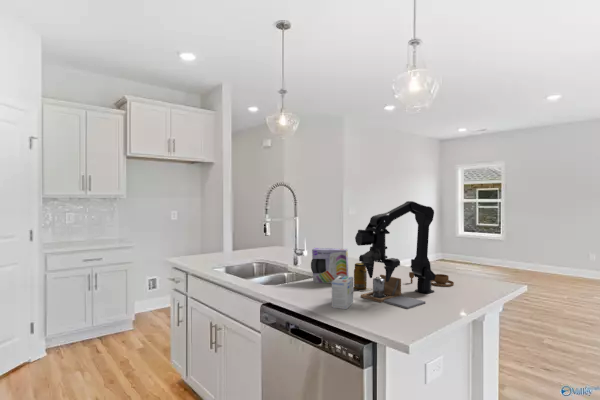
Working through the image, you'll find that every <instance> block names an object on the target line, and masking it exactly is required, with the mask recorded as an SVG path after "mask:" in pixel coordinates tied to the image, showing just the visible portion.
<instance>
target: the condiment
mask: <svg viewBox="0 0 600 400" xmlns="http://www.w3.org/2000/svg"><path fill="white" fill-rule="evenodd" d="M367 273H368V271H367V268H366V266H365V265H364V264H362V263H361V262H356V263H354V270H353V290H356V291H358V292H367V291H373V288H370V287H367V284H368V283H367V277H368V276H367Z"/></svg>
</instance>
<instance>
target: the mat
mask: <svg viewBox="0 0 600 400" xmlns="http://www.w3.org/2000/svg"><path fill="white" fill-rule="evenodd" d="M383 303H386V304H389V305H393V306H395V307H400V308H403V309H407V310H409V309H412V308H413V309H414V308H417V307H419V306H422V305H425V304H426V301H425V300H421V299H417V298H413V297H410V296H405V295H402V294H401V296H397V297H393V298H390V299H386V300H384V302H383Z"/></svg>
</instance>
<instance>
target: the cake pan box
mask: <svg viewBox="0 0 600 400" xmlns="http://www.w3.org/2000/svg"><path fill="white" fill-rule="evenodd" d="M348 250H349V249H348V248H333V247H314V248H312V249H311V253H312V255H311V257H312V259H311V261H310V269H311V273H312V283H321V284H322V283H323V284H332V281H333V280H335V279H336V278H337V277H338V276H346V277H350V275H349V273H350V272H349V253H348Z"/></svg>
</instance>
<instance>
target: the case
mask: <svg viewBox="0 0 600 400" xmlns="http://www.w3.org/2000/svg"><path fill="white" fill-rule="evenodd" d="M379 277H381V278H383V279H385V297H384V298H381V299H379V298H376V297H373V291H370V292H367V293H361V294H360V298H365V299H367V300H370V301H374V302H376V303H377V302H378V303H385V302H384V300H386V299H390V298H393V297H397V296H401V295H402V279H401V278H399V277H394V276H391V277H390V279H389V281H388V282H386V274H379Z"/></svg>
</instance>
